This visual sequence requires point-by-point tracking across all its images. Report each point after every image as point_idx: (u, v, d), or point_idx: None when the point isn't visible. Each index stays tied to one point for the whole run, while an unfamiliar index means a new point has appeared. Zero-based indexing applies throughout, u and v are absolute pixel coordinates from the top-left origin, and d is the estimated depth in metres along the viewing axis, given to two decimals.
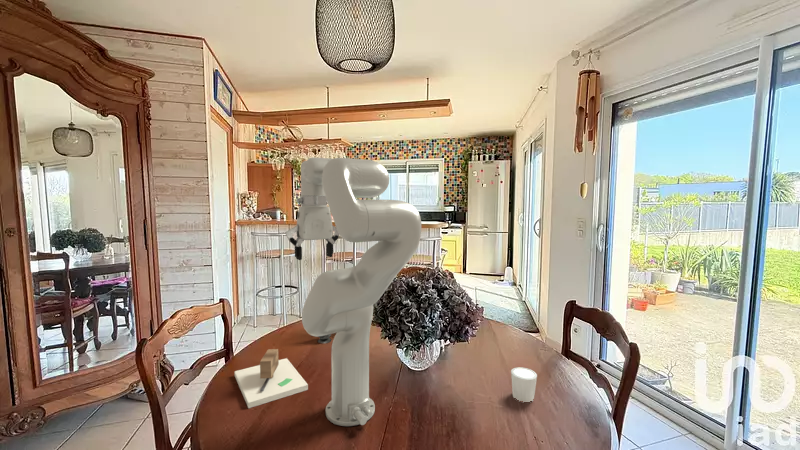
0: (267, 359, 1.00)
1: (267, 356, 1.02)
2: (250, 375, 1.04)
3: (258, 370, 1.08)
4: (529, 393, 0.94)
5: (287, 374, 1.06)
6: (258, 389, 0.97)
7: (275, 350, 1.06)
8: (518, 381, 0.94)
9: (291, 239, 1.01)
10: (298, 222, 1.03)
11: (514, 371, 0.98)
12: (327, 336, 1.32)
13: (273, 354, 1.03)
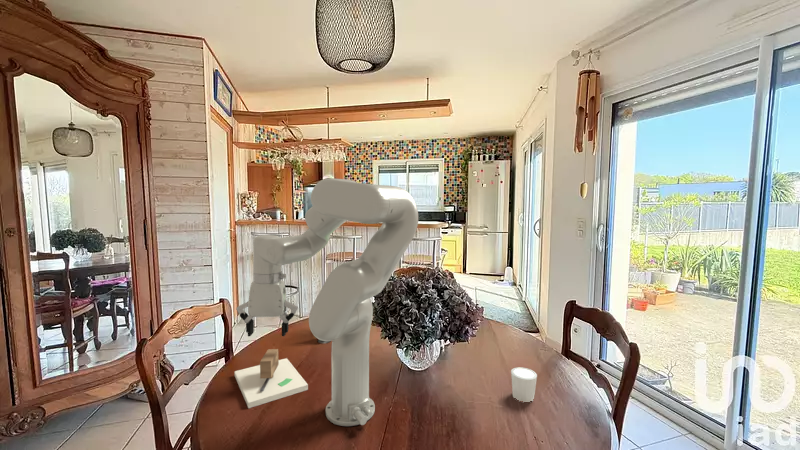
0: (267, 359, 1.00)
1: (267, 356, 1.02)
2: (250, 375, 1.04)
3: (258, 370, 1.08)
4: (529, 393, 0.94)
5: (287, 374, 1.06)
6: (258, 389, 0.97)
7: (275, 350, 1.06)
8: (518, 381, 0.94)
9: None
10: (285, 297, 1.03)
11: (514, 371, 0.98)
12: None
13: (273, 354, 1.03)
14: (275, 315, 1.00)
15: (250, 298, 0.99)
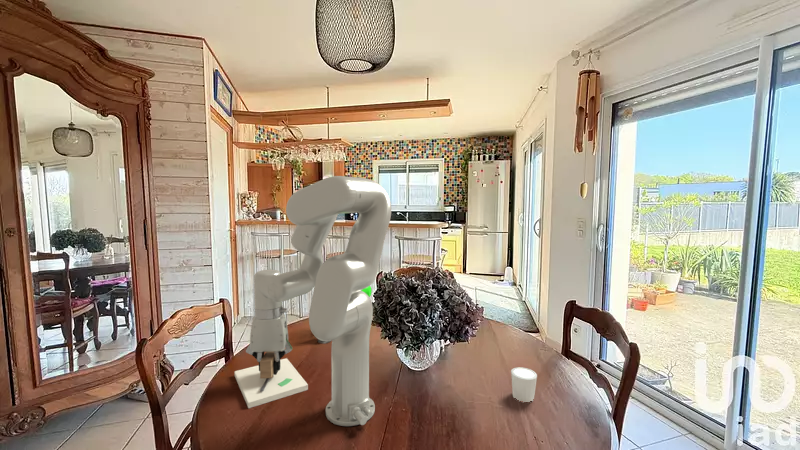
0: (267, 359, 1.00)
1: (267, 356, 1.02)
2: (250, 375, 1.04)
3: (258, 370, 1.08)
4: (529, 393, 0.94)
5: (287, 374, 1.06)
6: (258, 389, 0.97)
7: None
8: (518, 381, 0.94)
9: None
10: (286, 331, 1.03)
11: (514, 371, 0.98)
12: None
13: (273, 354, 1.03)
14: (276, 350, 1.01)
15: (252, 333, 1.00)
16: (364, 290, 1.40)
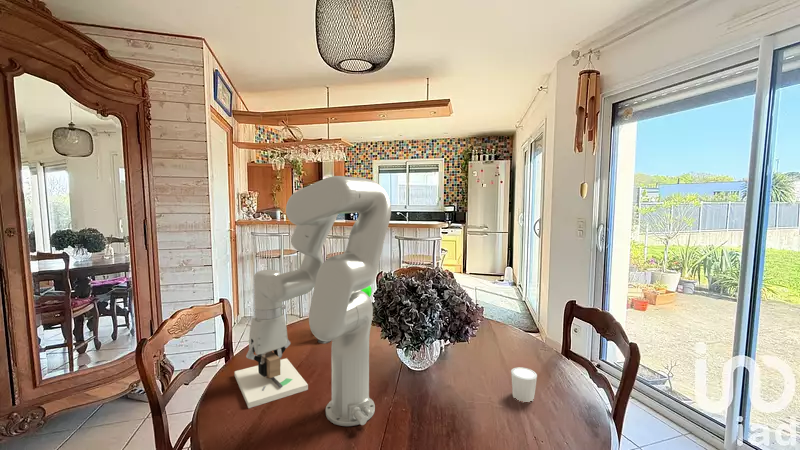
0: (274, 358, 1.01)
1: (270, 356, 1.02)
2: (250, 375, 1.04)
3: None
4: (529, 393, 0.94)
5: (287, 374, 1.06)
6: (258, 389, 0.97)
7: None
8: (518, 381, 0.94)
9: None
10: None
11: (514, 371, 0.98)
12: None
13: (272, 353, 1.04)
14: (281, 346, 1.03)
15: (258, 336, 0.98)
16: (364, 290, 1.40)
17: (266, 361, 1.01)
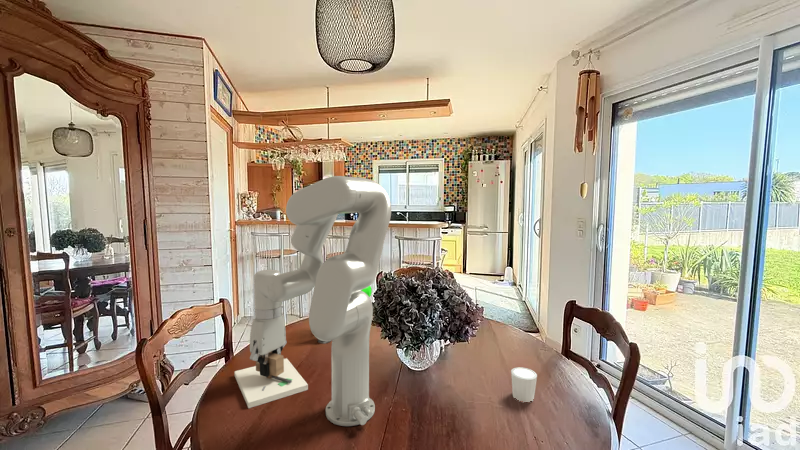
0: (277, 356, 1.02)
1: (272, 356, 1.02)
2: (250, 375, 1.04)
3: None
4: (529, 393, 0.94)
5: (287, 374, 1.06)
6: (258, 389, 0.97)
7: None
8: (518, 381, 0.94)
9: None
10: None
11: (514, 371, 0.98)
12: None
13: (271, 353, 1.04)
14: (281, 345, 1.04)
15: (263, 337, 0.98)
16: (364, 290, 1.40)
17: (269, 361, 1.01)
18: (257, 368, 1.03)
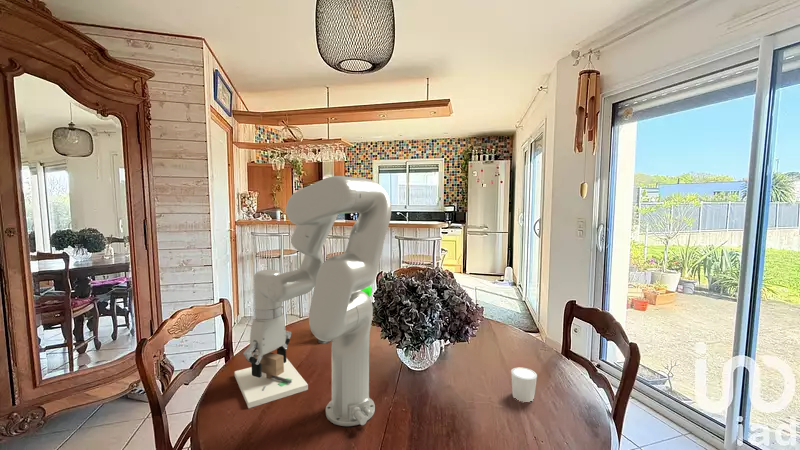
0: (277, 356, 1.02)
1: (272, 356, 1.02)
2: (250, 375, 1.04)
3: None
4: (529, 393, 0.94)
5: (287, 374, 1.06)
6: (258, 389, 0.97)
7: None
8: (518, 381, 0.94)
9: None
10: None
11: (514, 371, 0.98)
12: None
13: (271, 353, 1.04)
14: (281, 345, 1.04)
15: (263, 337, 0.98)
16: (364, 290, 1.40)
17: (269, 361, 1.01)
18: None
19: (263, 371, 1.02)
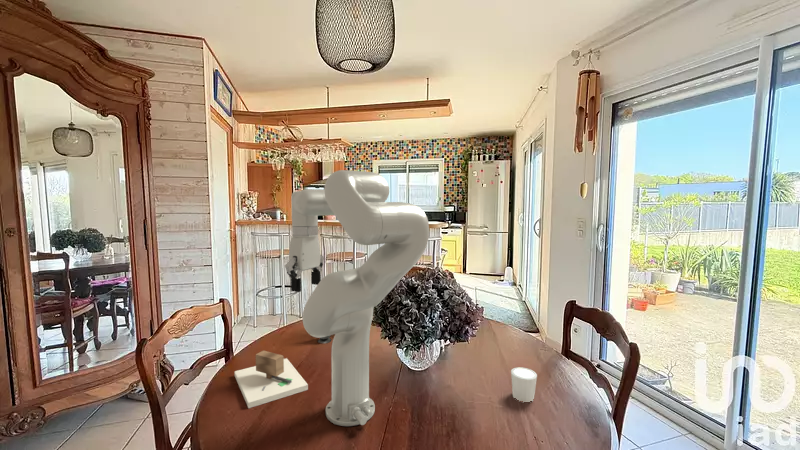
0: (277, 356, 1.02)
1: (272, 356, 1.02)
2: (250, 375, 1.04)
3: None
4: (529, 393, 0.94)
5: (287, 374, 1.06)
6: (258, 389, 0.97)
7: (264, 351, 1.05)
8: (518, 381, 0.94)
9: None
10: None
11: (514, 371, 0.98)
12: (327, 336, 1.32)
13: (271, 353, 1.04)
14: (316, 265, 1.08)
15: (302, 252, 1.01)
16: None
17: (269, 361, 1.01)
18: (257, 368, 1.03)
19: (263, 371, 1.02)
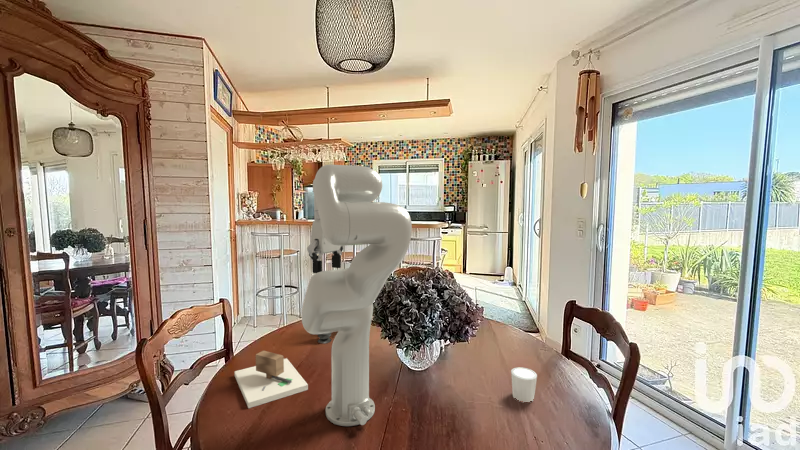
0: (277, 356, 1.02)
1: (272, 356, 1.02)
2: (250, 375, 1.04)
3: None
4: (529, 393, 0.94)
5: (287, 374, 1.06)
6: (258, 389, 0.97)
7: (264, 351, 1.05)
8: (518, 381, 0.94)
9: None
10: None
11: (514, 371, 0.98)
12: (327, 336, 1.32)
13: (271, 353, 1.04)
14: (337, 249, 1.10)
15: (324, 235, 1.04)
16: None
17: (269, 361, 1.01)
18: (257, 368, 1.03)
19: (263, 371, 1.02)
